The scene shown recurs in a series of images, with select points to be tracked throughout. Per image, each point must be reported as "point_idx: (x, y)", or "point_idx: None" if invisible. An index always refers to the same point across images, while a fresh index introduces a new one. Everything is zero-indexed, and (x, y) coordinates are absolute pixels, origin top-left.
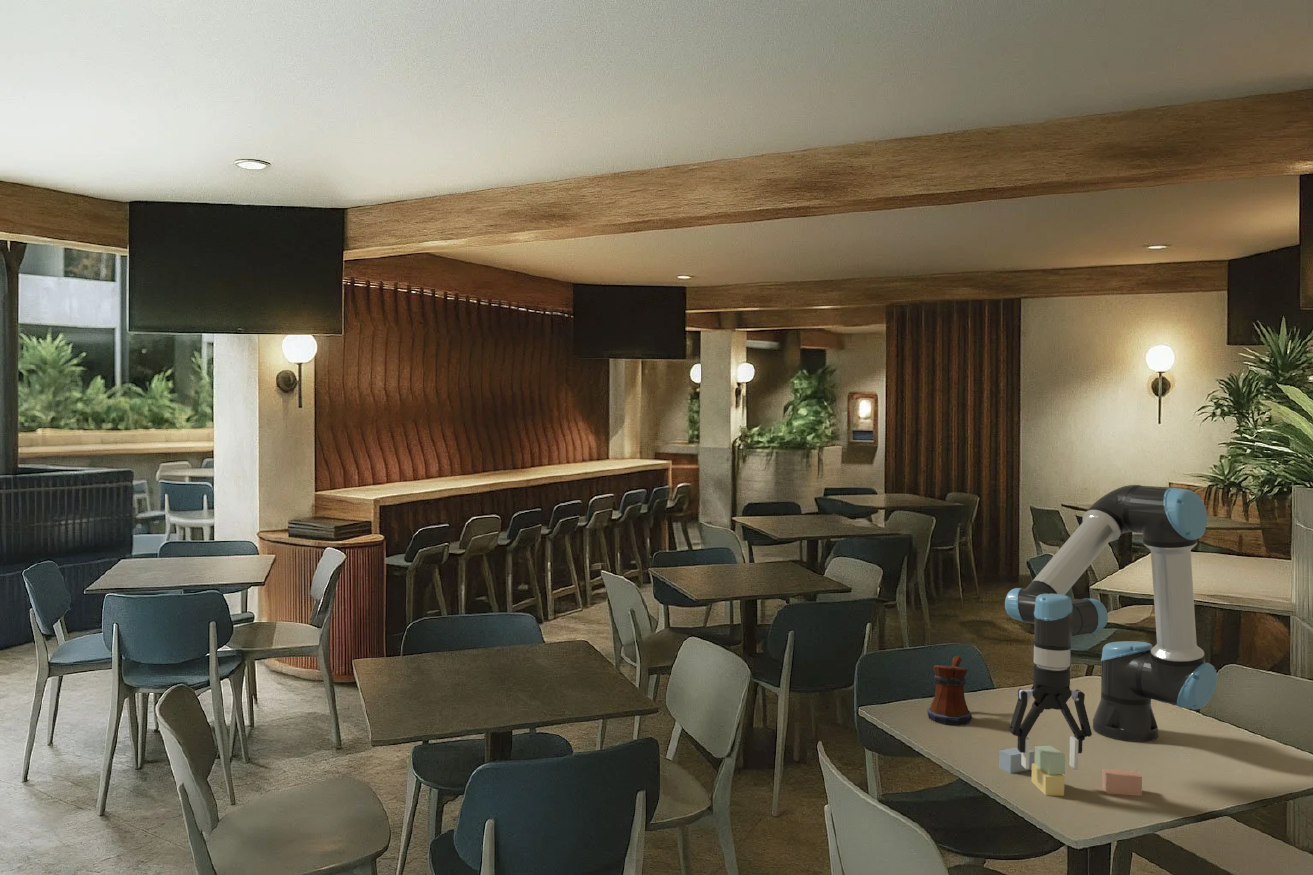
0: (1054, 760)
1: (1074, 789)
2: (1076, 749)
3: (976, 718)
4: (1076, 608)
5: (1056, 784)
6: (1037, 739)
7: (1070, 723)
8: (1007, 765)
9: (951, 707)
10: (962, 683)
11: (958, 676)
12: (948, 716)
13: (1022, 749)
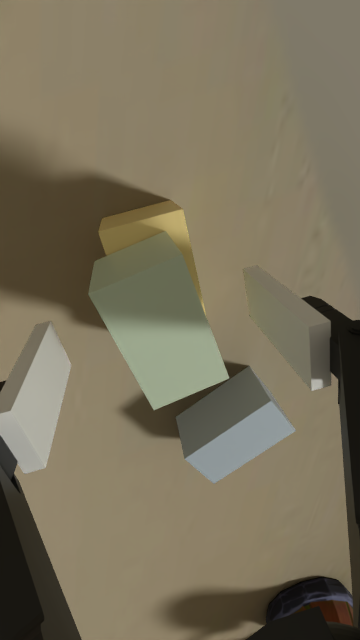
0: (147, 259)
1: (62, 290)
2: (18, 375)
3: (251, 621)
4: None
5: (132, 217)
6: (141, 581)
7: (10, 513)
8: (262, 384)
9: None
10: None
11: None
12: (325, 599)
13: (309, 303)
